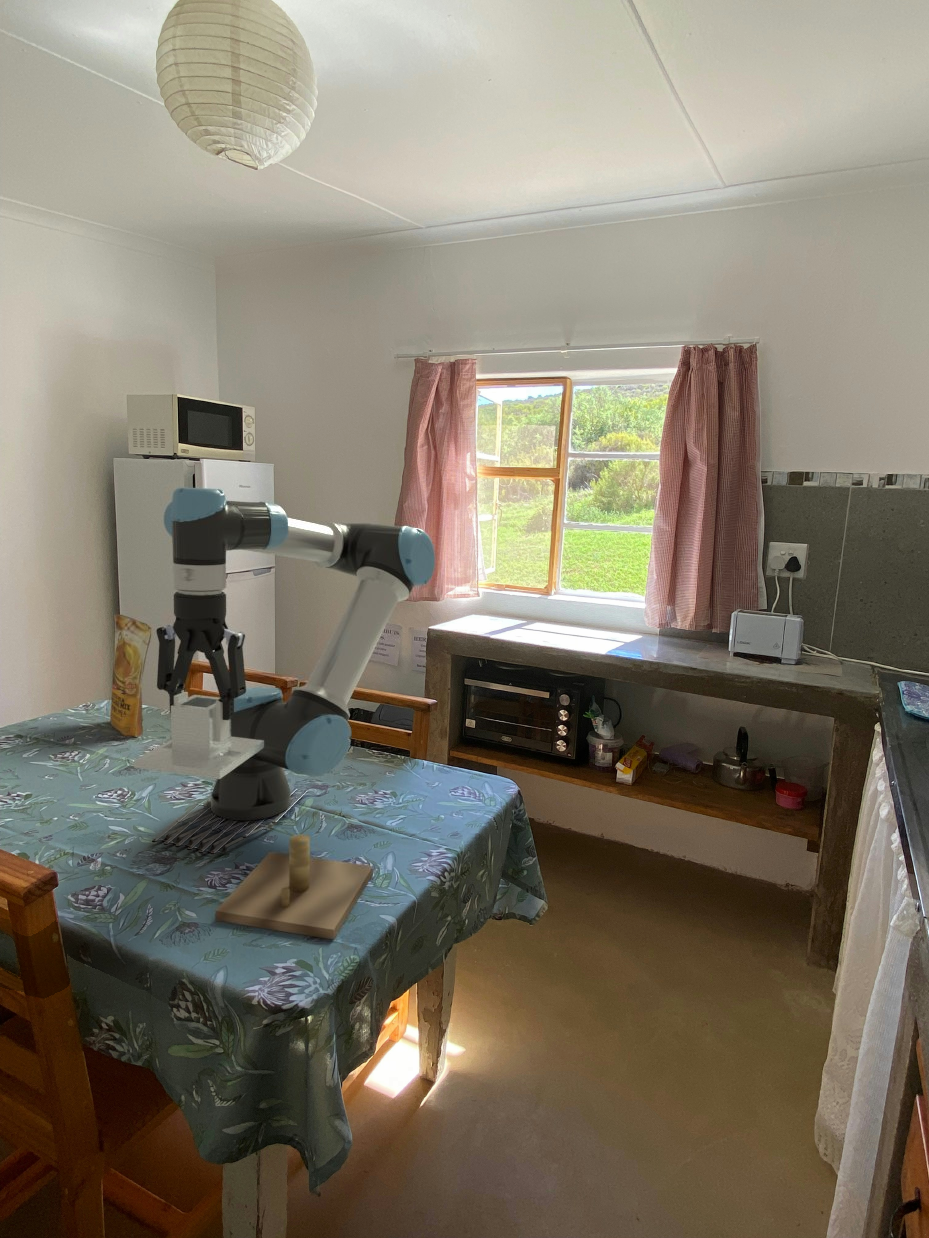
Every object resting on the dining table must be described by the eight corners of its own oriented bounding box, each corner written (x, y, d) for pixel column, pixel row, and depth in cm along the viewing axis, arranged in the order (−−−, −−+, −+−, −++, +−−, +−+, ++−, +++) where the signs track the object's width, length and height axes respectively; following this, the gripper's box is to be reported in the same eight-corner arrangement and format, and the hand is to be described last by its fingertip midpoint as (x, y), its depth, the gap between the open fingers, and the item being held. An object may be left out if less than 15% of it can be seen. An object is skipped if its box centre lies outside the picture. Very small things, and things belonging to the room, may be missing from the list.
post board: (215, 920, 105) (214, 859, 103) (270, 859, 122) (270, 806, 120) (333, 939, 102) (334, 877, 100) (372, 874, 119) (374, 820, 117)
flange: (134, 767, 109) (132, 710, 107) (187, 737, 122) (186, 686, 121) (219, 779, 106) (219, 720, 105) (264, 747, 120) (264, 694, 118)
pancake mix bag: (130, 715, 191) (127, 611, 186) (157, 736, 178) (154, 624, 173) (103, 720, 187) (99, 613, 182) (128, 741, 173) (124, 626, 168)
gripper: (127, 589, 108) (131, 737, 112) (247, 599, 104) (247, 751, 108) (157, 583, 115) (160, 722, 119) (270, 592, 111) (270, 735, 115)
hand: (202, 736), depth 114 cm, fingers closed on flange, 6 cm apart
